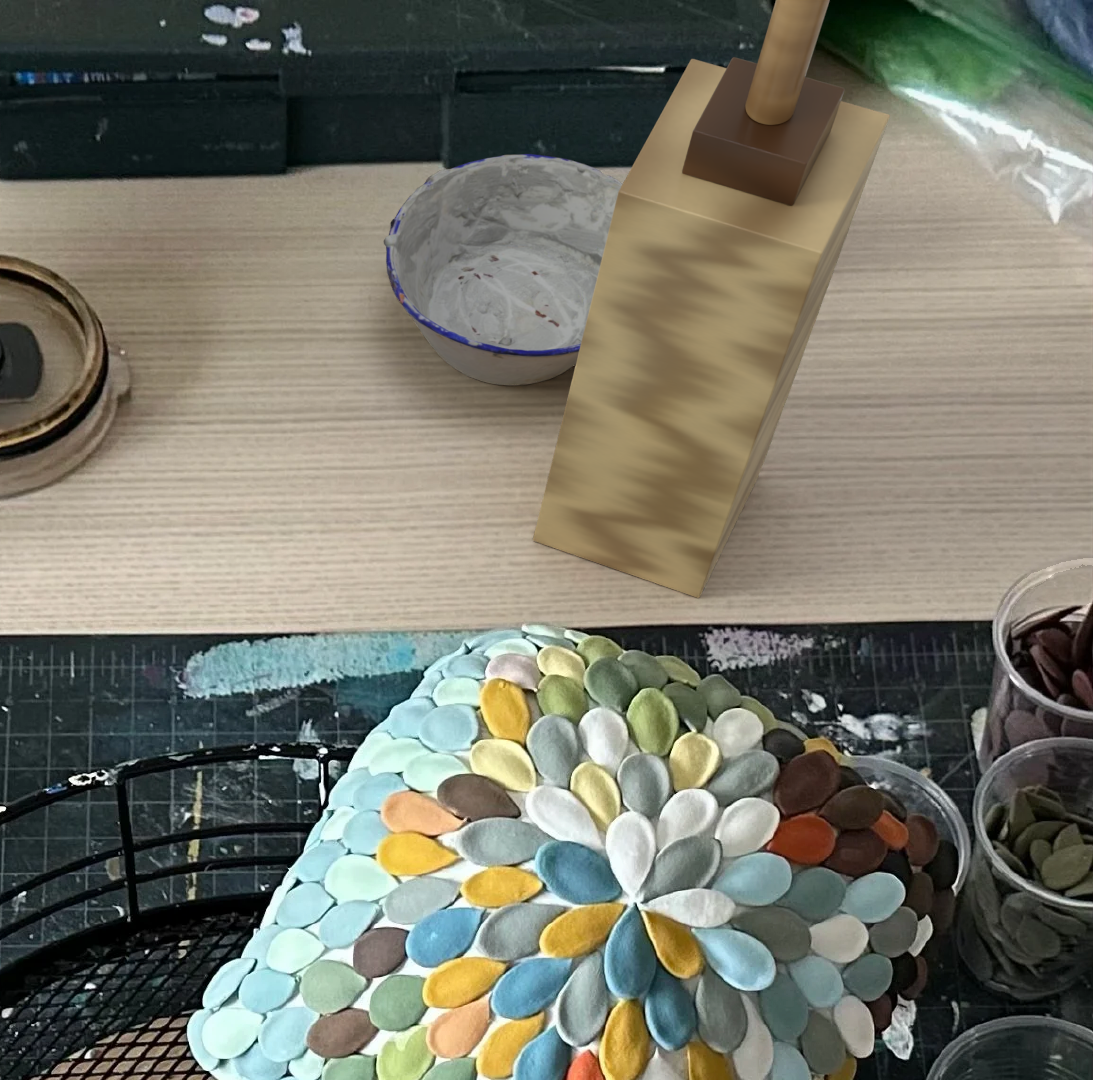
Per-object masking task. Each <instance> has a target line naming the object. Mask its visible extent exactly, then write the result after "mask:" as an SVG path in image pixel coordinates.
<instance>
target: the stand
mask: <svg viewBox="0 0 1093 1080" xmlns="http://www.w3.org/2000/svg"><path fill="white" fill-rule="evenodd" d="M726 69H727V67H723V66H719V65H716V64H712V63H709V62H706V61H702V60H698V59H695V58H691V59H690V60H689V63H688V64H687V66H686V68H685V70H684V72H683V73H682V75H681V77H680V79H679V81H678V83H677V84H676V86H675V87H674V90H673V92H672V93H671V95H670V96H669V99H668V101H667V102H666V104H665V106H664V108H663V110H662V112H660V115H659V117H658V119H657V120H656V122H655V124H654V126H653V128H652V130H651V131H650V132H649V135H648V137H647V139H646V141H645V142H644V144H643V146H642V148H641V150H639V151H640V152H639V153H638V155H637V157H636V159H635V161H634V162H633V164H632V166H631V168H630V169H629V171H628V173H627V175H626V177H625V179H624V180H623V182H622V186H621V188H620V190H619V191H618V195H617V199H616V204H615V208H614V212H613V216H612V220H611V224H610V228H609V232H608V236H607V240H606V244H605V248H604V252H603V256H602V260H601V264H600V268H599V273H598V277H597V281H596V285H595V289H594V293H593V297H592V301H591V305H590V309H589V313H588V317H587V321H586V325H585V329H584V333H583V338H582V342H581V346H580V350H579V354H578V358H577V362H576V365H574V366H575V367H574V371H573V375H572V379H571V383H570V387H569V390H568V393H567V394H568V395H567V399H566V403H565V407H564V411H563V415H562V419H561V422H560V423H561V424H560V428H559V431H558V432H559V433H558V436H557V439H556V444H555V448H554V452H553V456H552V459H551V464H550V467H549V472H548V476H547V480H546V484H545V488H544V493H543V496H542V499H541V504H540V508H539V513H538V516H537V521H536V524H535V529H534V533H533V538H532V541H533V542H535V543H538V544H541V545H544V546H547V547H550V548H553V549H556V550H557V551H558V550H559V551H561V552H565V553H568V554H570V555H572V556H576V557H579V558H581V559H584V560H587V561H590V562H592V563H593V562H594V563H596V564H599V565H602V566H605V567H607V568H610V569H614V570H616V571H619V572H621V573H625V574H628V575H630V576H633V577H637V578H639V579H642V580H644V581H648V582H650V583H653V584H657V585H658V586H659V585H660V586H661V587H665V588H668V589H671V590H673V591H677V592H679V593H682V594H685V595H688V596H691V597H693V598H697V599H700V598H701V596H702V594H703V592H704V590H705V588H706V585H707V584H708V582H709V579H710V577H711V575H712V573H713V571H714V569H715V567H716V565H717V563H718V561H719V559H720V557H721V554H722V552H723V550H724V548H725V546H726V545H727V542H728V540H729V538H730V537H731V534H732V532H733V531H734V528H735V526H736V523H738V520H739V518H740V516H741V513H742V511H743V509H744V507H745V505H746V503H747V501H748V499H749V497H750V495H751V493H752V491H753V489H754V487H755V485H756V482H757V480H758V479H759V476H760V474H761V471H762V468H763V466H764V463H765V460H766V457H767V454H768V452H769V450H770V447H771V443H772V442H773V438H774V435H775V433H776V430H777V427H778V425H779V422H780V419H781V416H782V414H783V411H784V408H785V406H786V403H787V400H788V397H789V395H790V392H791V389H792V387H793V384H794V381H795V378H796V376H797V373H798V370H799V367H800V364H801V362H802V360H803V356H804V353H805V350H806V348H807V345H808V343H809V340H810V337H811V335H812V331H813V329H814V327H815V323H816V322H817V321H816V320H817V318H818V315H819V312H820V310H821V307H822V304H823V302H824V299H825V296H826V293H827V290H828V287H829V285H830V282H831V280H832V277H833V274H834V271H835V269H836V266H837V263H838V260H839V258H840V255H841V252H842V249H843V247H844V244H845V242H846V239H847V236H848V234H849V230H850V228H851V225H852V223H853V222H852V221H853V219H854V217H855V214H856V211H857V209H858V206H859V203H860V200H861V198H862V195H863V192H864V189H865V187H866V184H867V181H868V178H869V176H870V172H871V170H872V168H873V165H874V162H875V159H876V156H877V154H878V151H879V149H880V146H881V142H882V139H883V137H884V135H885V132H886V130H887V126H888V124H889V121H890V118H891V115H890V114H888V113H884V112H881V111H878V110H875V109H870V108H867V107H863V106H861V105H856V104H853V103H849V102H845V101H843V100H841V103H840V105H839V108H838V111H837V114H836V117H835V120H834V123H833V126H832V129H831V132H830V134H829V136H828V138H827V140H826V142H825V144H824V146H823V148H822V150H821V152H820V154H819V155H818V157H817V159H816V161H815V163H814V165H813V167H812V169H811V171H810V173H809V175H808V177H807V179H806V181H805V183H804V185H803V187H802V189H801V191H800V193H799V195H798V197H797V199H796V201H795V203H794V205H792V206H790V205H787V204H783V203H780V202H777V201H773V200H770V199H767V198H763V197H760V196H756V195H753V194H750V193H746V192H743V191H740V190H736V189H733V188H729V187H726V186H723V185H719V184H716V183H713V182H709V181H706V180H703V179H699V178H696V177H692V176H689V175H686V174H683V173H682V169H683V165H684V162H685V158H686V154H687V151H688V147H689V143H690V140H691V136H692V132H693V130H694V128H695V126H696V124H697V123H698V121H699V119H700V117H701V115H702V113H703V111H704V110H705V108H706V106H707V104H708V102H709V100H710V98H711V96H712V95H713V93H714V91H715V89H716V87H717V85H718V83H719V82H720V80H721V78H722V76H723V74H724V72H725V70H726Z"/></svg>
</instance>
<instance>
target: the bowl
mask: <svg viewBox="0 0 1093 1080" xmlns="http://www.w3.org/2000/svg"><path fill="white" fill-rule="evenodd" d="M450 167H452V165H451V166H450ZM622 184H623V182H621V181H619V180H618V179H617V178H615V177H613V176H611V175H608V174H605V173H604V172H603V171H601V169H598V168H596V167H593V166H590V165H587V164H585V163H581V162H579V161H576V160H575V161H574V160H572V159H567V158H562V157H555V156H550V155H541V154H532V153H524V154H522V153H521V154H504V155H498V156H492V157H487V158H483V159H478V160H474V161H473V160H472V161H470V162H466V163H464V164H460V165H457V166H455V167H452V168H445V169H439V170H438V171H436V172H434V173H433V174H431V175H430V176H428V177H427V178H426V180H425V181H424V183H423V184H422V185H420V186H419V187H417V188H416V189H415V190H414V191H413V192H412V193H411V195H409V197H408V198H407V199H406V200H405V201H404V203H403V204H402V205H401V206H400V208H399V209H398V211H397V213H396V215H395V216H394V218H393V219H392V220H391V221H390V228H389V232H388V235H387V236H386V237H384V239H383V245H384V246H385V251H386V252H385V253H386V255H385V265H386V274H387V277H388V281H389V283H390V286H391V289H392V292H393V294H394V295H395V297H396V299H397V300H398V302H399V303H400V305H401V306H402V308H403V309H404V310H405V311H406V313H407V314H408V315H409V317H410V318H411V319H412V321H413V322H414V324H415V325H416V326H417V328H418V329H419V331H420V333H421V334H422V336H423V337H424V338H425V340H427V342H428V343H429V345H430V346H431V347H432V349H433V350H434V351H435V352H436V353H437V355H438V356H439V357H440V358H442V360H443V361H445V363H446V364H448V365H449V366H451V367H452V368H454V369H455V370H457V371H458V372H460V373H461V374H463V375H465V376H467V377H468V378H471V379H474V380H476V381H477V380H478V381H480V382H483V383H484V382H485V383H489V384H492V385H498V386H525V385H532V384H537V383H540V382H544V381H548V380H552V379H553V378H555V377H558V376H559V375H563V374H564V373H565V372H567V371H569V370H570V369H571V368H573V367H574V366H576V362H577V358H578V354H579V350H580V346H581V342H582V338H583V333H584V329H585V325H586V321H587V317H588V313H589V309H590V305H591V301H592V297H593V293H594V289H595V285H596V281H597V277H598V273H599V268H600V264H601V260H602V256H603V252H604V248H605V244H606V240H607V236H608V232H609V228H610V224H611V220H612V216H613V212H614V208H615V204H616V199H617V195H618V191H619V190H620V188H621V186H622Z"/></svg>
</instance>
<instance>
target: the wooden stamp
mask: <svg viewBox="0 0 1093 1080" xmlns="http://www.w3.org/2000/svg"><path fill="white" fill-rule="evenodd" d="M830 2H831V1H830V0H775V3H774V5H773V9H772V13H771V16H770V20H769V23H768V26H767V29H766V33H765V37H764V40H763V43H762V47H761V50H760V54H759V57H758V59H757V62H753V61H750V60H745V59H742V58H738V57H735V56H733V57H732V58H731V59H730V61H729V63H728V65H727V66H726V68H727V69H726V70H725V72H724V74H723V76H722V78H721V80H720V82H719V83H718V85H717V87H716V89H715V91H714V93H713V95H712V96H711V98H710V100H709V102H708V104H707V106H706V108H705V110H704V111H703V113H702V115H701V117H700V119H699V121H698V123H697V124H696V126H695V128H694V130H693V132H692V136H691V140H690V143H689V147H688V151H687V154H686V158H685V162H684V165H683V169H682V173H683V174H686V175H689V176H692V177H696V178H699V179H703V180H706V181H709V182H713V183H716V184H719V185H723V186H726V187H729V188H733V189H736V190H740V191H743V192H746V193H750V194H753V195H756V196H760V197H763V198H767V199H770V200H773V201H777V202H780V203H783V204H787V205H790V206H792V205H794V203H795V201H796V199H797V197H798V195H799V193H800V191H801V189H802V187H803V185H804V183H805V181H806V179H807V177H808V175H809V173H810V171H811V169H812V167H813V165H814V163H815V161H816V159H817V157H818V155H819V154H820V152H821V150H822V148H823V146H824V144H825V142H826V140H827V138H828V136H829V134H830V132H831V129H832V126H833V123H834V120H835V117H836V114H837V111H838V108H839V105H840V103H841V101H843V100H842V99H843V96H844V93H845V88H844V87H841V86H838V85H835V84H832V83H827V82H824V81H820V80H817V79H813V78H811V77H806V76H807V73H808V70H809V67H810V63H811V60H812V57H813V54H814V51H815V48H816V45H817V41H818V39H819V35H820V32H821V29H822V26H823V23H824V20H825V16H826V14H827V10H828V7H829V3H830Z"/></svg>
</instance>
